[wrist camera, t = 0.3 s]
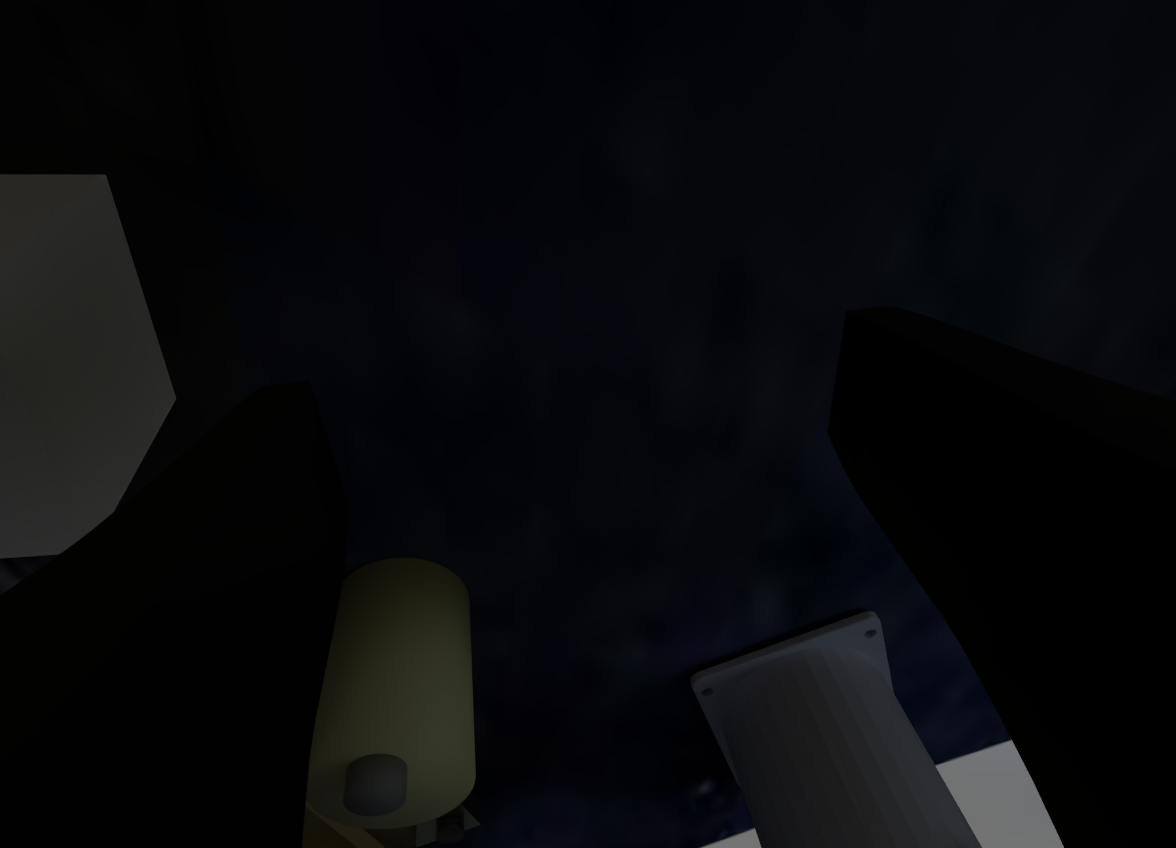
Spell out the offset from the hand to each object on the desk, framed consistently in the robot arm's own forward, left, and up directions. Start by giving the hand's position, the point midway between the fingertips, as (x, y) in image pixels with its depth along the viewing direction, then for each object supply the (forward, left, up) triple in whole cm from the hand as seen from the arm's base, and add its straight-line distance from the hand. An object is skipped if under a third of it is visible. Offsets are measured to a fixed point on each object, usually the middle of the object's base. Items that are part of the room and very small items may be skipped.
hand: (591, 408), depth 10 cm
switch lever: (-12, +10, -10) cm, 18 cm away
